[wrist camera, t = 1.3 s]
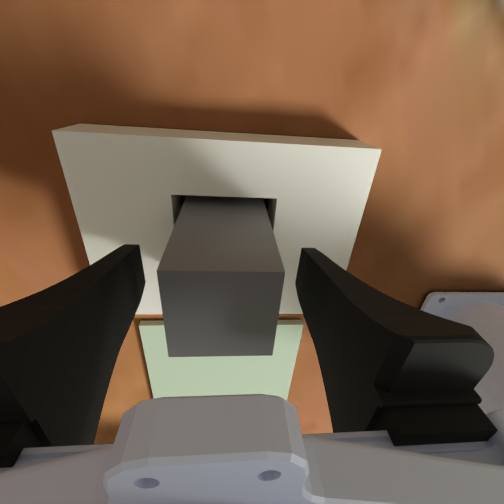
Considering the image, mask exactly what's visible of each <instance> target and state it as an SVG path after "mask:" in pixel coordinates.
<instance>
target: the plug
mask: <svg viewBox="0 0 504 504" xmlns="http://www.w3.org/2000/svg"><path fill="white" fill-rule="evenodd" d="M284 277H285V270H284V266H283V263H282V260H281V256H280V253H279V250H278V246H277V243H276V240H275V236H274V233H273V230H272V226H271V223H270V220H269V217H268V213H267V210H266V207H265V203H264V200H263V198H249V197H222V196H195V195H187V196H186V198H185V201H184V203H183V206H182V208H181V211H180V213H179V216H178V218H177V221H176V223H175V226H174V228H173V231H172V233H171V236H170V238H169V241H168V243H167V246H166V248H165V251H164V253H163V256H162V258H161V261H160V263H159V266H158V268H157V278H158V285H159V292H160V300H161V307H162V314H163V321H164V328H165V335H166V343H167V350H168V357H212V356H272V355H273V349H274V343H275V336H276V329H277V323H278V316H279V310H280V303H281V297H282V290H283V284H284Z"/></svg>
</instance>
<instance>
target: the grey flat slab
mask: <svg viewBox="0 0 504 504" xmlns="http://www.w3.org/2000/svg"><path fill="white" fill-rule="evenodd" d="M52 134H53V138H54V141H55V145H56V148H57V152H58V155H59V159H60V162H61V166H62V169H63V173H64V176H65V180H66V183H67V187H68V190H69V194H70V197H71V201H72V204H73V208H74V211H75V215H76V218H77V222H78V225H79V228H80V232H81V235H82V239H83V242H84V246H85V249H86V253H87V256H88V260H89V263H90V265H91V264H93V263H95V262H96V261H98V260H99V259H101V258H103V257H104V256H106V255H107V254H109V253H111V252H112V251H114V250H115V249H117V248H119V247H120V246H122V245H124V244H138V245H139V246H140V252H141V258H142V264H143V269H144V275H145V281H146V283H145V287H144V291H143V295H142V298H141V302H140V304H139V307H138V309H137V311H136V314H162V307H161V300H160V292H159V285H158V278H157V268H158V266H159V263H160V261H161V258H162V256H163V253H164V251H165V248H166V246H167V243H168V241H169V238H170V236H171V233H172V231H173V228H174V226H175V223H176V221H177V218H178V216H179V213H180V211H181V195H195V196H222V197H249V198H269V203H268V217H269V220H270V223H271V226H272V230H273V233H274V236H275V240H276V243H277V246H278V250H279V253H280V256H281V260H282V263H283V266H284V270H285V277H284V284H283V290H282V297H281V303H280V310H279V314H303V312H302V309H301V306H300V303H299V300H298V295H297V291H296V285H295V281H296V276H297V270H298V265H299V259H300V254H301V248H316V249H317V250H319V251H320V252H322V253H323V254H324V255H326V256H327V257H328V258H330V259H331V260H332V261H333V262H335V263H336V264H337V265H339V266H340V267H341V268H343V269H344V270H347V267H348V263H349V260H350V256H351V253H352V250H353V246H354V243H355V239H356V236H357V232H358V229H359V226H360V222H361V219H362V215H363V212H364V208H365V205H366V202H367V198H368V195H369V191H370V188H371V184H372V181H373V178H374V174H375V171H376V167H377V164H378V160H379V157H380V154H381V150H382V149H380V148H378V147H375V146H373V145H370V144H368V143H365V142H363V141H360V140H350V139H333V138H316V137H299V136H282V135H265V134H249V133H232V132H215V131H198V130H181V129H164V128H147V127H131V126H114V125H97V124H76V125H72V126H68V127H64V128H60V129H56V130H52Z"/></svg>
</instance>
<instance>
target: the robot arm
mask: <svg viewBox="0 0 504 504" xmlns="http://www.w3.org/2000/svg"><path fill="white" fill-rule="evenodd" d="M145 283H146V281H145V275H144V269H143V264H142V258H141V252H140V246H139V245H138V244H124V245H122V246H120V247H119V248H117V249H115V250H114V251H112V252H111V253H109V254H107V255H106V256H104V257H103V258H101V259H99V260H98V261H96V262H95V263H93V264H91V265H90V266H88V267H86V268H85V269H83V270H81V271H79V272H78V273H76V274H74V275H72V276H71V277H69V278H67V279H65V280H63V281H61V282H59V283H57V284H55V285H53V286H51V287H49V288H47V289H44V290H42V291H40V292H38V293H35V294H33V295H30V296H28V297H25V298H23V299H20V300H18V301H15V302H13V303H10V304H7V305H5V306H2V307H0V504H504V292H432V293H430V294H428V295H427V297H426V299H425V301H424V303H423V305H422V307H421V309H420V310H419V309H417V308H414V307H412V306H409V305H407V304H405V303H402V302H400V301H398V300H396V299H394V298H391V297H389V296H387V295H385V294H383V293H381V292H380V291H378V290H376V289H374V288H372V287H370V286H369V285H367V284H365V283H364V282H362V281H361V280H359V279H357V278H356V277H354V276H353V275H351V274H350V273H349V272H347V271H346V270H344V269H343V268H341V267H340V266H339V265H337V264H336V263H335V262H333V261H332V260H331V259H330V258H328V257H327V256H326V255H324V254H323V253H322V252H320V251H319V250H317V249H316V248H301V254H300V259H299V265H298V270H297V276H296V281H295V285H296V291H297V295H298V300H299V303H300V306H301V309H302V312H303V315H304V318H305V320H306V323H307V326H308V328H309V331H310V334H311V337H312V339H313V342H314V345H315V349H316V352H317V356H318V360H319V365H320V369H321V373H322V377H323V382H324V387H325V391H326V396H327V401H328V406H329V411H330V416H331V422H332V428H333V433H321V434H302V433H301V428H300V424H299V419H298V414H297V410H296V406H294V405H293V404H291V403H289V402H288V401H286V400H285V399H283V398H281V397H280V396H274V395H266V394H239V395H210V396H180V397H160V398H155V399H150V400H145V401H141V402H139V403H138V404H136V405H135V406H133V407H132V408H130V409H129V410H128V411H126V412H125V413H123V416H122V420H121V423H120V426H119V429H118V432H117V435H116V438H115V441H114V444H95V445H93V444H94V440H95V435H96V431H97V427H98V423H99V419H100V415H101V412H102V408H103V404H104V400H105V396H106V393H107V389H108V386H109V382H110V379H111V376H112V372H113V369H114V366H115V363H116V359H117V356H118V353H119V351H120V348H121V346H122V343H123V341H124V339H125V336H126V334H127V332H128V330H129V327H130V325H131V323H132V320H133V318H134V316H135V314H136V311H137V309H138V307H139V304H140V302H141V298H142V295H143V291H144V287H145Z"/></svg>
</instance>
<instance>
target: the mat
mask: <svg viewBox="0 0 504 504" xmlns="http://www.w3.org/2000/svg"><path fill="white" fill-rule="evenodd" d="M303 325H304V324H303V321H302V320H278V323H277V329H276V336H275V343H274V349H273V355H272V356H212V357H168V350H167V343H166V335H165V328H164V321H163V320H145V321H140V324H139V329H140V334H141V339H142V344H143V349H144V354H145V359H146V364H147V368H148V373H149V378H150V383H151V388H152V393H153V398H154V399H155V398H160V397H180V396H210V395H239V394H266V395H274V396H280V397H281V398H283V399H285V400H286V401H287V397H288V393H289V388H290V384H291V379H292V375H293V370H294V366H295V361H296V357H297V352H298V348H299V343H300V339H301V334H302V330H303Z"/></svg>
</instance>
